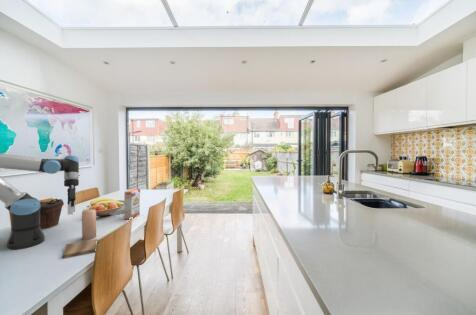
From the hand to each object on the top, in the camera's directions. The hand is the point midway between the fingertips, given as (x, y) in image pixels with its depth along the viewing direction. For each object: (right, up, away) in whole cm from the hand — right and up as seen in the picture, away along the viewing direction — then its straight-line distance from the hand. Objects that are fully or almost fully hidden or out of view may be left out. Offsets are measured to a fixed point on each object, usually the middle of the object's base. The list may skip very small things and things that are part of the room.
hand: (71, 213), depth 138 cm
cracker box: (+21, -12, +35) cm, 43 cm away
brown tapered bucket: (-26, -11, +12) cm, 31 cm away
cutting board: (+21, -14, -21) cm, 32 cm away
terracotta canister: (+15, -13, -6) cm, 21 cm away
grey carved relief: (+8, -11, +47) cm, 49 cm away
